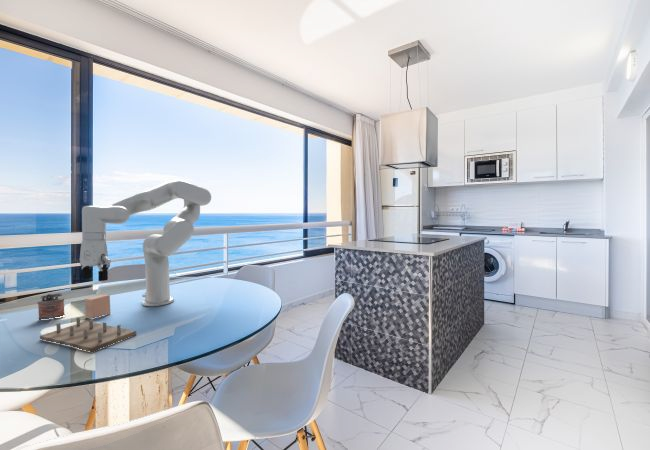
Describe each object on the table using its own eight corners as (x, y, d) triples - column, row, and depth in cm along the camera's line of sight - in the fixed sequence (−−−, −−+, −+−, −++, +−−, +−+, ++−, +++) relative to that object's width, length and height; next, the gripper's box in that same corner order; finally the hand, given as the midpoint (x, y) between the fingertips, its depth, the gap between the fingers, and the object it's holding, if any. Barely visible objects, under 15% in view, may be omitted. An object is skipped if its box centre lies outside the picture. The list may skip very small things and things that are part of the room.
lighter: (37, 321, 118) (35, 296, 117) (40, 318, 121) (38, 293, 120) (63, 318, 121) (62, 293, 121) (66, 315, 124) (65, 291, 124)
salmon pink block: (85, 318, 121) (84, 298, 120) (104, 313, 127) (103, 294, 127) (92, 320, 119) (91, 299, 119) (110, 314, 126) (109, 295, 125)
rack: (40, 340, 100) (39, 326, 100) (86, 325, 114) (85, 313, 113) (91, 353, 91) (91, 338, 91) (135, 335, 104) (135, 322, 104)
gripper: (69, 236, 121) (70, 279, 122) (98, 238, 115) (99, 283, 115) (90, 235, 128) (90, 276, 129) (118, 237, 122) (119, 279, 122)
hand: (95, 279), depth 122 cm, fingers open, 9 cm apart
